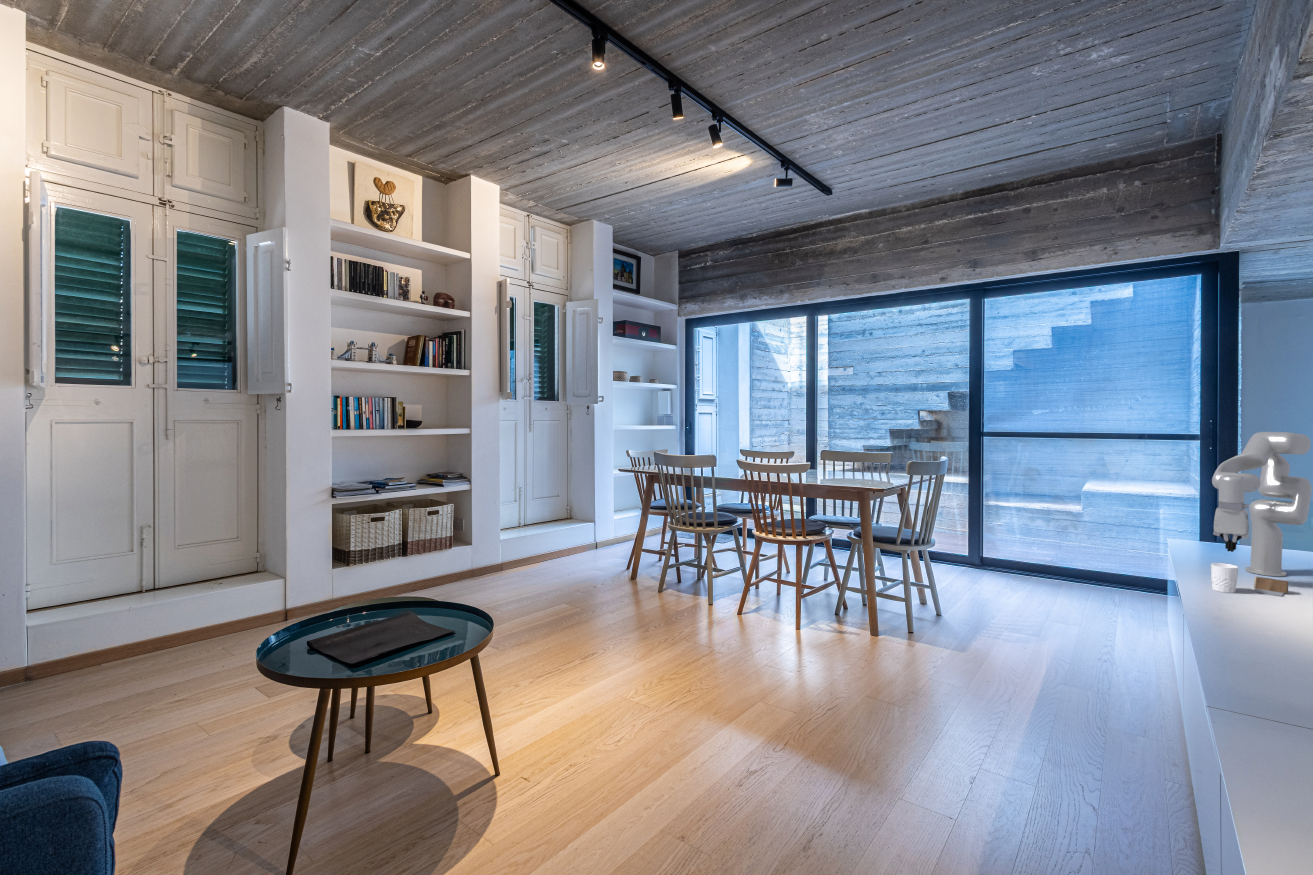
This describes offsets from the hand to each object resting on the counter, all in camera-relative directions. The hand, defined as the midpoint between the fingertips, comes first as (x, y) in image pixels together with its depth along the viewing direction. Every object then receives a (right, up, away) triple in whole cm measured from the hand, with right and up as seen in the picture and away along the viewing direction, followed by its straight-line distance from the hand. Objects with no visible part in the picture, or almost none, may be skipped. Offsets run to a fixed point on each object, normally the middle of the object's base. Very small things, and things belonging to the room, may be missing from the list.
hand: (1230, 550), depth 250 cm
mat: (+7, -14, -9) cm, 18 cm away
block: (+4, -11, -6) cm, 13 cm away
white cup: (-11, -14, -9) cm, 20 cm away
